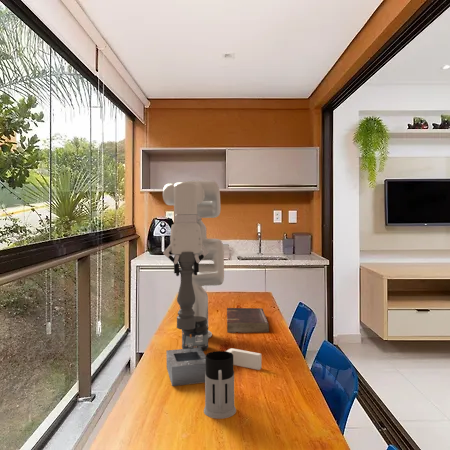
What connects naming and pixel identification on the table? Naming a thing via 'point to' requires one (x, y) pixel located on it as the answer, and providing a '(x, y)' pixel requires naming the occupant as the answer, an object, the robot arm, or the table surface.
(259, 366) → the angle bracket
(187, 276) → the candle holder
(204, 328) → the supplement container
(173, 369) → the gray hollow block
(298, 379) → the table surface
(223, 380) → the glass holder
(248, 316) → the hardback book
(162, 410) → the table surface
